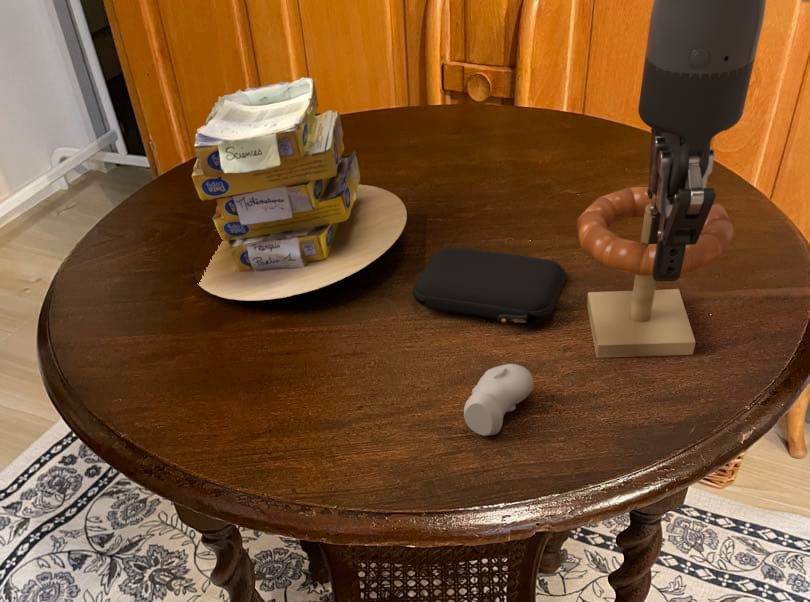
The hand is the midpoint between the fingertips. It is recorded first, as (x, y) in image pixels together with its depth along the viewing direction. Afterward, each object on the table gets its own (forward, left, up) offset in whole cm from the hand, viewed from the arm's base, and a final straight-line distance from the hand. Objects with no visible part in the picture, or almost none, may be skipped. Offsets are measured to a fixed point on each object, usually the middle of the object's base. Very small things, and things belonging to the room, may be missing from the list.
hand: (662, 267), depth 74 cm
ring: (0, -5, +1) cm, 5 cm away
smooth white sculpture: (+14, +7, -10) cm, 19 cm away
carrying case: (+14, -11, -10) cm, 21 cm away
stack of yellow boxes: (+35, -22, -10) cm, 43 cm away
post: (0, -5, -10) cm, 11 cm away
